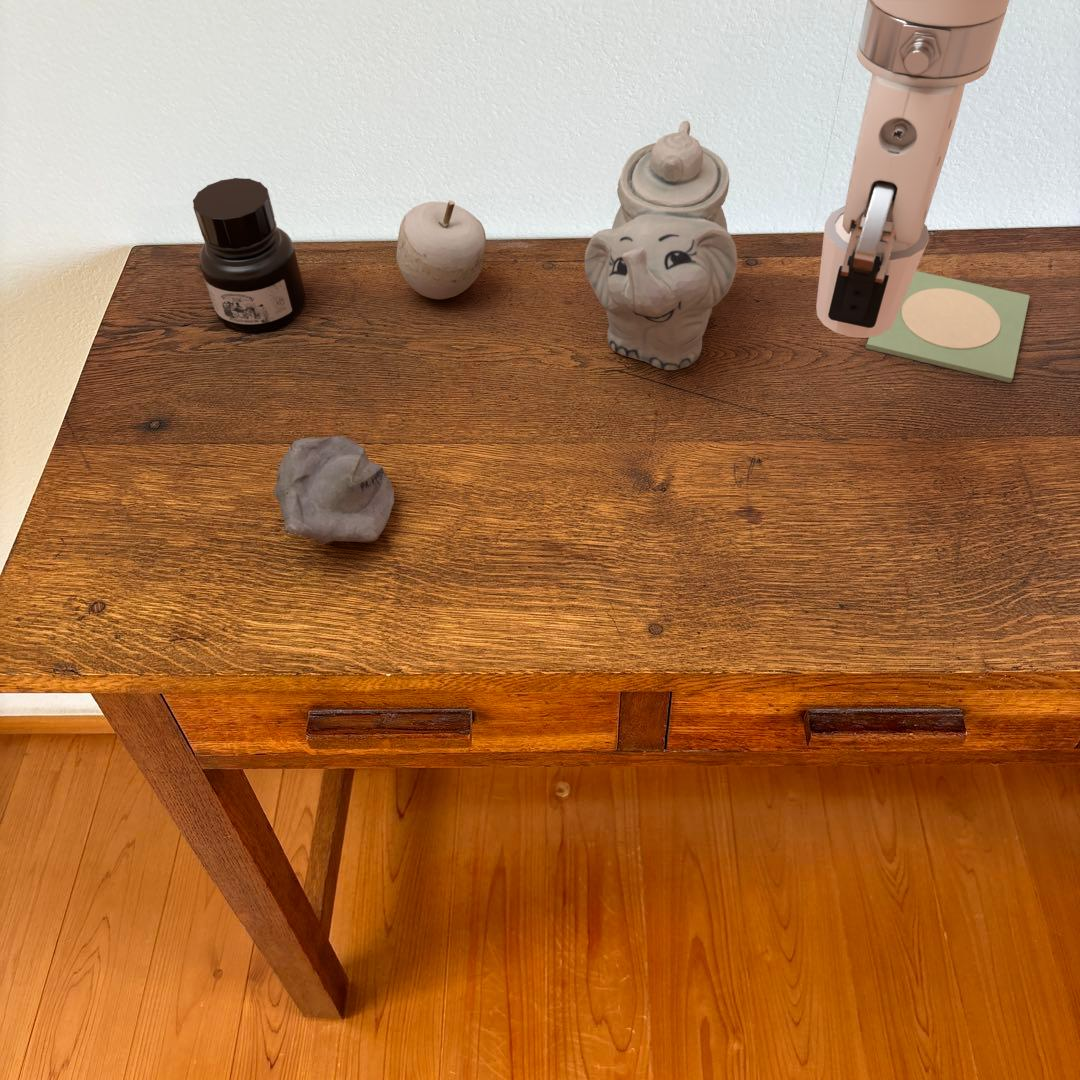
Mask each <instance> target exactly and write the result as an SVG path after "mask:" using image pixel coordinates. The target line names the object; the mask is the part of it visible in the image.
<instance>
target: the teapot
mask: <svg viewBox="0 0 1080 1080" xmlns="http://www.w3.org/2000/svg"><path fill="white" fill-rule="evenodd" d="M690 133H691V123H690V121H689V120H683V121H682V122H680V124H679V127H678V131H677V132H673V133H669V134H666V135H663V136H661V137H660V138H659V139H658V140H657V141H656V142H654V143H651V144H648V145H645V146H643V147H641V148H639V149H637V150H636V151H634V152H633V153H632V154H631V155H630V156H629V157H628V159H627V160H626V162H625V164H624V165H623V167H622V170H621V173H620V176H619V180H618V182H617V189H616V192H617V197H618V201H619V204H620V206H619V208H618V210H617V213H616V214H615V217H614V220H613V224H612V226H611V228H606V229H602V230H599V231H597V232H595V233H594V234H592V236H591V237H590V239H589V241H588V243H587V245H586V248H585V252H584V253H585V254H584V271H585V275H586V278H587V280H588V283H589V285H590V286H591V288H592V290H593V292H594V294H595V296H596V298H597V300H598V301H599V303H600V305H601V306H602V308H603V309H605V310H606V318H607V322H608V328H607V333H606V339H607V342H608V345H609V347H610V348H611V350H612V351H613V352H615V353H616V354H618V355H621V356H623V357H628V358H632V359H635V360H638V361H641V362H645V363H647V364H650V365H652V366H653V367H655V368H658V369H662V370H666V371H677V370H681V369H683V368H687V367H689V366H691V365H692V364H693V363H695V362H696V361H697V360H698V358H699V357H700V355H701V353H702V349H703V336H704V334H705V333H706V330H707V326H708V323H709V319H710V318H711V316H712V312H713V308H715V306H717V305H718V304H719V303H720V302H721V301H722V300H723V298H724V297H725V296H726V295H727V294H728V293H729V291H730V289H731V287H732V285H733V283H734V279H735V276H736V272H737V267H738V252H737V245H736V242H735V240H734V239H733V237H732V235H731V234H730V232H729V231H728V223H727V218H726V216H725V212H724V210H723V207H722V206H723V205H724V204H725V202H726V198H727V196H728V193H729V188H730V172H729V169H728V166H727V165H726V163H725V162H724V160H723V159H722V157H720V156H719V155H717V154H716V153H715V152H713V151H712V150H711V149H709V148H707V147H705V146H702V145H701V144H700V142H699V140H698V139H697V138H695V137H694V136H692V135H691V134H690Z"/></svg>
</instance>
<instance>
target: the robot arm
mask: <svg viewBox="0 0 1080 1080" xmlns="http://www.w3.org/2000/svg"><path fill="white" fill-rule="evenodd" d="M1009 4H1010V0H867V1H866V5H865V9H864V15H863V20H862V24H861V29H860V34H859V40H858V43H857V48H856V58H857V59H858V62H859V63H860V65H861V66H862V67H863V68H864V69H866V71H868V72H870V73H871V77H870V82H869V87H868V92H867V96H866V100H865V104H864V109H863V114H862V118H861V123H860V128H859V131H858V137H857V141H856V147H855V151H854V155H853V156H854V157H853V161H852V167H851V172H850V177H849V183H848V188H847V193H846V199H845V205H844V206H845V210H844V217H843V224H842V226H843V228H844V230H845V231H846V232H847V233H848V234H850V232H851V236H850V240H849V244H848V248H847V251H846V255H845V259H844V262H843V266H840V268H839V270H838V275H837V279H836V283H835V288H834V292H833V296H832V300H831V305H830V309H829V313H828V317H829V318H830V319H831V320H834V321H839V322H843V323H848V324H853V325H857V326H862V327H866V328H872V327H874V326H875V324H876V321H877V317H878V314H879V310H880V307H881V303H882V300H883V296H884V292H885V289H886V285H887V282H888V278H889V276H888V275H885V274H886V270H887V267H888V263H889V260H890V256H891V253H892V249H893V246H894V242H895V241H896V239H897V242H898V243H905V244H907V246H911V245H913V244H915V243H916V242H917V241H919V239H920V236H921V233H922V230H923V227H924V224H925V223H926V220H927V217H928V213H929V211H930V208H931V204H932V202H933V198H934V195H935V191H936V188H937V185H938V182H939V179H940V175H941V172H942V168H943V165H944V162H945V160H946V155H947V152H948V149H949V145H950V141H951V138H952V135H953V132H954V129H955V126H956V121H957V118H958V114H959V112H960V107H961V104H962V100H963V95H964V92H965V87H966V85H967V84H970V83H973V82H975V81H977V80H979V79H980V78H982V77H983V76H985V74H986V73H987V71H989V68H990V65H991V63H992V62H991V61H992V58H993V55H994V52H995V48H996V45H997V43H998V39H999V36H1000V32H1001V30H1002V26H1003V23H1004V21H1005V17H1006V14H1007V10H1008V6H1009ZM862 217H866V218H865V221H864V225H863V226H860V225H861V221H862ZM886 221H887V222H892V223H893V227H892V231H891V232H889V231H884V227H885V223H886ZM925 225H926V224H925ZM858 241H859V242H858ZM880 241H881V242H886V243H885V246H884V250H883V253H882V257H881V260H880V257H879V256H876V255H877V252H878V247H879V244H880Z"/></svg>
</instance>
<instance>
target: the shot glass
mask: <svg viewBox="0 0 1080 1080" xmlns="http://www.w3.org/2000/svg"><path fill="white" fill-rule="evenodd" d="M844 210H845V205H843V206H842V207H840V208H838V209H836V210H834V211H832V212H831V213H830V214H829V216H828V217H827V218H826V221H825V222H824V229H823V230H824V231H823V239H822V247H821V259H820V266H819V267H820V268H819V277H818V284H817V285H818V286H817V296H816V304H815V308H816V317H817V319H819V322H821V324H822V325H823V326H825V327H826V328H828V329H829V330H831V331H833V332H834V333H835V334H839V335H842V336H846V337H849V338H863V339H869V337H873V336H877V335H881V334H883V333H884V332H886V331H888V330H889V329H891V327H892V325H893V323H894V321H895V319H896V317H897V315H898V312H899V310H900V307H901V305H902V303H903V300H904V298H905V296H906V293H907V291H908V288H909V286H910V284H911V281H912V279H913V276H914V274H915V272H916V271H917V269H918V267H919V264H920V262H921V260H922V257H923V255H924V252H925V250H926V247H927V245H928V243H929V241H930V233H929V229H928V226H927V224H924V227H923V230H922V233H921V236H920V239H919V241H917V242H916V243H915V244H913V245H911V246H907V244H905V243H898V242H897V239H896V241H895V242H894V246H893V249H892V253H891V256H890V260H889V263H888V267H887V270H886V274H885V275H888V276H889V278H888V282H887V285H886V289H885V292H884V296H883V300H882V303H881V307H880V310H879V314H878V317H877V321H876V324H875V326H874V327H872V328H866V327H862V326H857V325H853V324H848V323H843V322H839V321H834V320H831V319H830V318H829V317H828V313H829V309H830V305H831V300H832V296H833V292H834V288H835V283H836V279H837V275H838V270H839V268H840V266H843V262H844V259H845V255H846V251H847V248H848V244H849V240H850V236H851V232H850V234H848V233H847V232H846V231H845V230H844V228H843V226H842V224H843V217H844ZM865 218H866V217H862V221H861V225H860V226H863V225H864V221H865ZM892 227H893V223H892V222H887V221H886V223H885V227H884V231H889V232H891V231H892ZM858 242H859V241H858ZM885 243H886V242H881V241H880V244H879V247H878V252H877V255H876V256H879V257H880V260H881V257H882V253H883V250H884V246H885Z"/></svg>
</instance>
